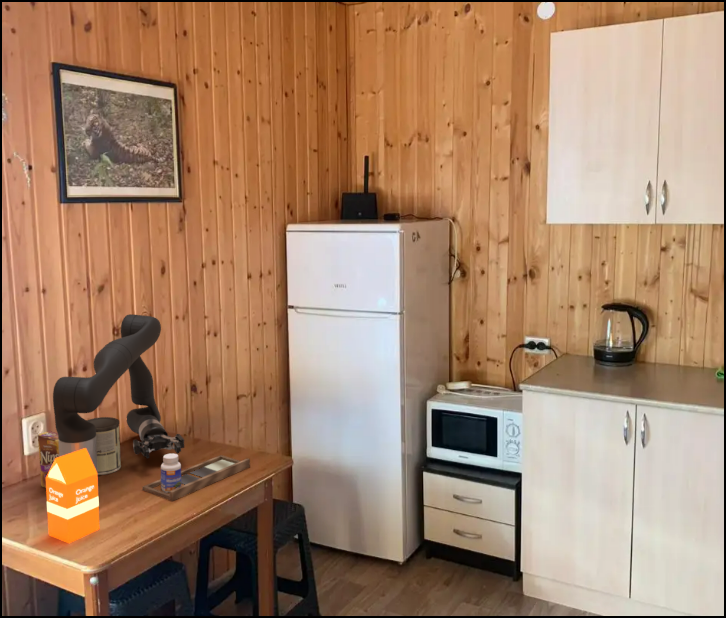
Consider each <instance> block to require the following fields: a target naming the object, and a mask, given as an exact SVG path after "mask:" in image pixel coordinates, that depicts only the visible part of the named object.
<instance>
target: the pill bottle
mask: <svg viewBox="0 0 726 618" xmlns="http://www.w3.org/2000/svg"><path fill="white" fill-rule="evenodd" d="M162 456H163V457H162V461H163V462H162V463H161V465H160V479H161V485H160V488H161V489H160V491H162V492H165V493H167V494H170V491H172V490H174V489H176V488H179V487H181V486H182V484H181V471H182V464H181V462H180V461H179V455H178V454H177V453H167V454H164V455H162Z"/></svg>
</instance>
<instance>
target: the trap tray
mask: <svg viewBox="0 0 726 618" xmlns="http://www.w3.org/2000/svg"><path fill="white" fill-rule="evenodd" d="M199 468H200V469H199ZM248 468H251V459H250V458H245V459H243V460H239V459H236V458H233V457H229V456H226V455H224V454H220V455H217V456H215V457H213V458H210V459H208V460H205V461H203V462H200V463H198V464H197V463H196V464H195V465H192V466H190V467H187V468H185V469H183V470H182V469H181V487H179V488H176V489H174V490H172V491H170V493H165V492H163V491H162V490H159V489H157V488H156V487H158V486H161V478H160V479H158V480H155V481H153V482H151V483H148V484H146V485H143V486H142V488H141V489H142V491H145V492H147V493H149V494H152V495H155V496H158V497H160V498H163V499H166V500H168V501H171V502H173V501H176V500H178V498H179V499H180V497H181V498H183V497H185V496H187V494H188V495H190V494H192V493H195V492H197V491H199V490H201V489H203V488H205V486H206V487H209V486H210V485H212V484H215V483H216V482H219V481H222V480H223V479H226V478H228V477H230V476H233V475H236V474H237V473H239V472H242V471H245V470H247V469H248ZM194 470H195V471H194ZM192 474H194V475H192ZM182 475H183V476H182ZM195 475H196V476H195ZM198 476H200V477H198ZM201 477H202V478H201ZM183 484H184V485H183ZM196 490H197V491H196ZM189 493H190V494H189Z"/></svg>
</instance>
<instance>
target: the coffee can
mask: <svg viewBox="0 0 726 618" xmlns="http://www.w3.org/2000/svg"><path fill="white" fill-rule="evenodd" d="M86 420H87V421H89V422H91V423H93V424H94V425H95V427H96V444H97V469H98V476H99V475H101V476H103V475H109V474H112V473H115V472H117V471H119V470H120V469H121V467H122V465H121V464H122V463H121V445H120V444H121V443H120V442H121V441H120V439H121V438H120V436H121V435H120V419H118V418H116V417H109V416H102V417H94V418H90V419H86Z"/></svg>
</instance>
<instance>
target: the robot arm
mask: <svg viewBox="0 0 726 618" xmlns="http://www.w3.org/2000/svg"><path fill="white" fill-rule="evenodd" d="M161 331H162V325H161V322H160V320H159V319H158V318H157V317H155V316H151V315H142V314H127V315H125V316H124V317H123V319H122V321H121V323H120V337H119V338H116V339H113V340H111V341H109V342H108V343H107V344H105V345H104V346H103V347H102V348H101V349H100V350H99V351H98V352H97V353H96V355H95V356H94V359H93V368H94V372H95V373H94V375H92V376H89V377H83V376H82V377H81V376H80V377H79V376H61V377H59V378H58V379H57V381H56V382H55V384H54V386H53V391H52V404H53V413H54V422H55V423H54V424H55V430H56V433H58V440H59V457H60V456H63V455H66V454H69V453H72V452H75V451H78V450H81V449H84V448H86V449H87V451H88V454H89V456H90V458H91V460H92V462H93V465H94V467H95V469H96V471H97V473H98V469H97V444H96V427H95V425H94V424H93V423H91V422H89V421H87V420H88V419H85V418H83V417H82V416H81V415H80V414H90V413H93V412H94V411H96V409H98V407H99V406H100V405H101V403H102V402H103V401H104V399H105V397H106V396H107V395H108V393H109V391H110V390H111V389H112V387H113V386H114V385H115V384H116V382H118V380H119V379H120V378H121V377H122V376H123V375H124V374H125V373H126V372H127V371H128V374H129V380H130V382H129V383H130V398H131V401H132V403H133V404H134V405H137V406H143V407H139V408H138V407H137V408H133V409H131V410H129V411H128V413H127V415H126V418H127V420H126V425H127V427H128V428H129V430H130V431H132V432H134V433H135V434H137V435H138V436H139V438H140V440H141V441H139V440H138V439H133V440H132V446H133V452H134V455H140V453H141V455H142V456H143V457H146V459H149V458H150V453H151V452H152V451H153V452H156V451H157V452H158V451H161V450H163V449H165V450H169V451H171V450H174V451H175V454H177V455H178V454H180V453H181V452H182V449H184V448H185V439H184V437H183V436H182V435H181V434H180V433H176V434H175V436H173V437H172V436H171V435H169V434H168V432H167V430H166V429H165V428H164V425H162V423H161V420H162V418H161V413H160V411H159V409H158V406H157V404H156V400H155V399H156V398H155V391H154V390H155V389H154V380H153V379H154V378H153V375H152V373H151V370H150V369H149V368H148V366H147V364H146V363H145V362H144V360H143V359H142V357H141V356H142V355H143V354H144V353H145V352H146V351H148V350H149V349H150V348H152V347H153V346H154V345H155V344H156V343H157V341H158V339H159V337H161V336H160V334H161ZM144 406H145V407H144ZM97 477H99V475H98V474H97ZM98 492H99V489H98Z"/></svg>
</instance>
